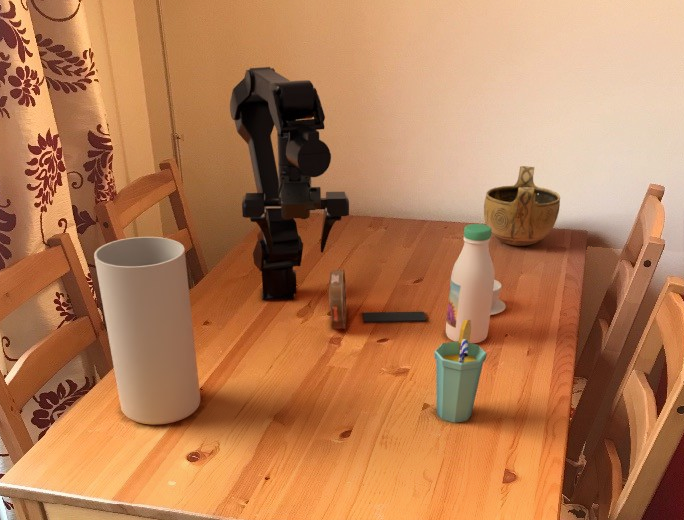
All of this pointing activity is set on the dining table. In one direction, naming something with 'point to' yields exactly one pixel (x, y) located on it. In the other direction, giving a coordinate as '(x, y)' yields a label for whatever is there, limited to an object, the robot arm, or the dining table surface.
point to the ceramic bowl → (521, 210)
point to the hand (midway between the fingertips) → (296, 252)
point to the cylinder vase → (149, 327)
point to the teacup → (496, 303)
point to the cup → (458, 376)
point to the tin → (337, 299)
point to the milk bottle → (471, 285)
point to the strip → (393, 317)
